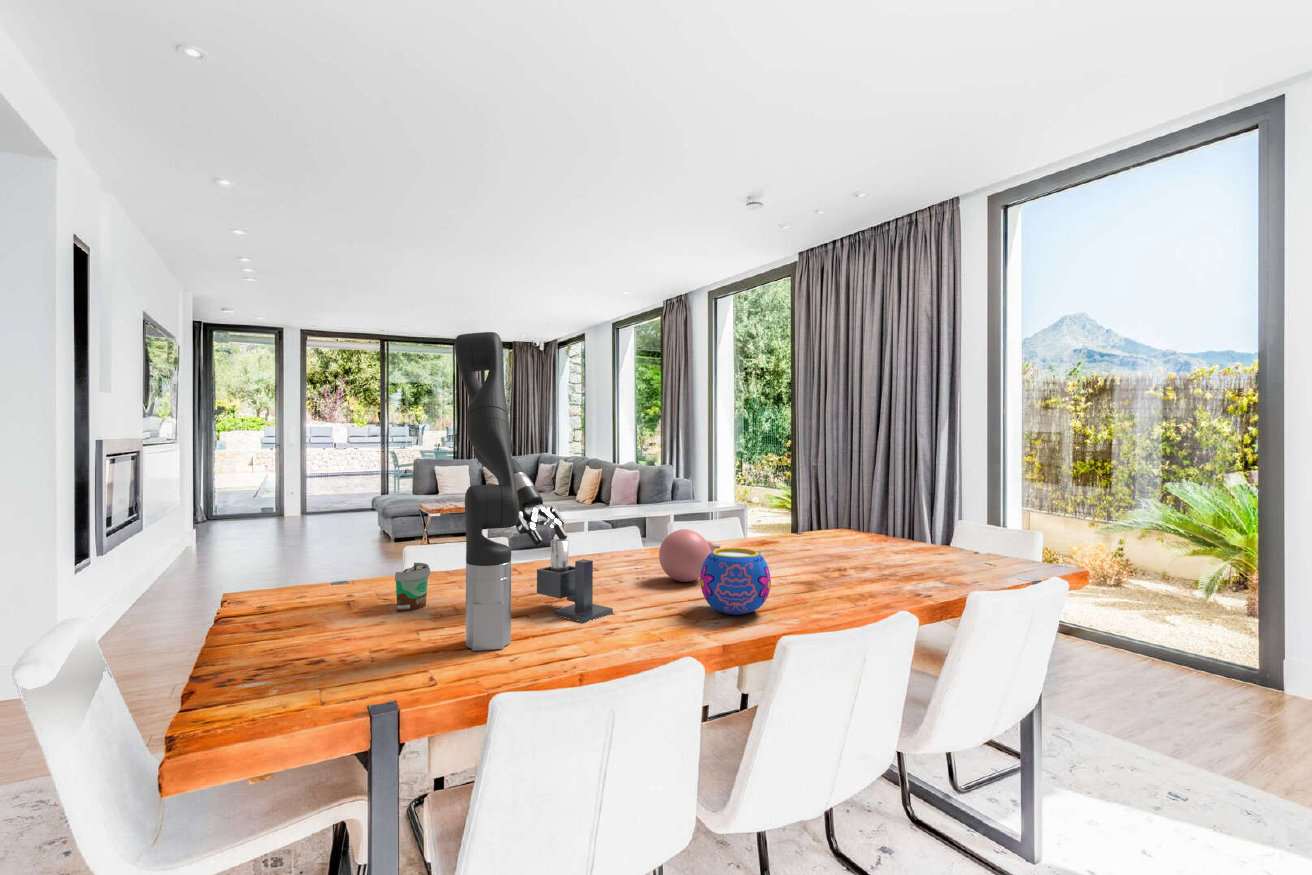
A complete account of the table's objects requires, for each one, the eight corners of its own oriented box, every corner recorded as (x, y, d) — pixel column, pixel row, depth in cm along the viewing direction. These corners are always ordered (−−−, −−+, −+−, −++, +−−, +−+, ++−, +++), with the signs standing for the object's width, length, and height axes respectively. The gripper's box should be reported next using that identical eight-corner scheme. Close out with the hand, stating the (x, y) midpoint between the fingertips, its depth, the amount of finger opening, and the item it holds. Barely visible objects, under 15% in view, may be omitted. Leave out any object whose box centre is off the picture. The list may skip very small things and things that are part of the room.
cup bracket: (612, 613, 157) (613, 560, 157) (584, 622, 149) (585, 567, 149) (562, 601, 168) (562, 551, 167) (534, 610, 159) (534, 557, 159)
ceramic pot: (767, 603, 167) (768, 546, 167) (773, 624, 150) (774, 560, 149) (700, 601, 169) (701, 544, 169) (698, 621, 151) (698, 557, 151)
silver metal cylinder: (569, 590, 159) (569, 542, 159) (551, 591, 158) (551, 543, 158) (567, 585, 164) (567, 538, 163) (550, 586, 163) (550, 539, 162)
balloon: (733, 583, 189) (734, 531, 189) (672, 589, 181) (672, 535, 181) (708, 572, 203) (709, 523, 203) (650, 577, 195) (651, 527, 195)
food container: (419, 614, 155) (419, 572, 155) (394, 613, 155) (394, 572, 155) (438, 600, 168) (438, 562, 168) (414, 600, 168) (414, 562, 168)
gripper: (507, 486, 162) (539, 536, 155) (549, 482, 173) (579, 529, 167) (494, 505, 165) (524, 555, 159) (535, 500, 177) (565, 547, 170)
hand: (552, 541), depth 163 cm, fingers open, 8 cm apart
